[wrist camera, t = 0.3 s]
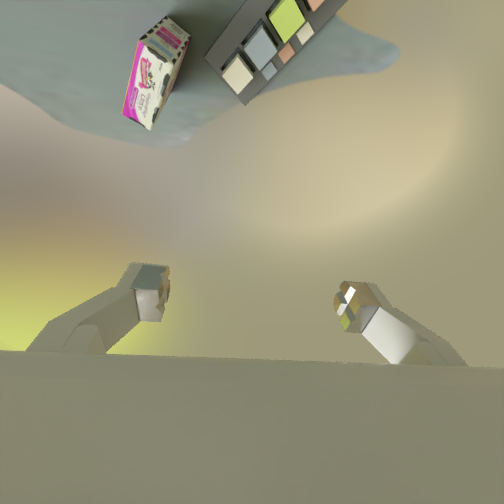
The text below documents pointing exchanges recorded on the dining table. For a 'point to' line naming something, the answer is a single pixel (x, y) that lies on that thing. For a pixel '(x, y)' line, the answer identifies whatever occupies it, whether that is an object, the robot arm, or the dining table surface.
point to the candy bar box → (154, 71)
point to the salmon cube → (314, 4)
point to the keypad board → (248, 18)
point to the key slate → (260, 48)
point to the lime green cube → (286, 18)
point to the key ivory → (237, 74)
